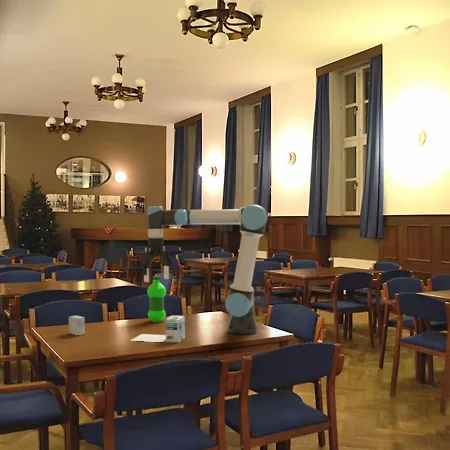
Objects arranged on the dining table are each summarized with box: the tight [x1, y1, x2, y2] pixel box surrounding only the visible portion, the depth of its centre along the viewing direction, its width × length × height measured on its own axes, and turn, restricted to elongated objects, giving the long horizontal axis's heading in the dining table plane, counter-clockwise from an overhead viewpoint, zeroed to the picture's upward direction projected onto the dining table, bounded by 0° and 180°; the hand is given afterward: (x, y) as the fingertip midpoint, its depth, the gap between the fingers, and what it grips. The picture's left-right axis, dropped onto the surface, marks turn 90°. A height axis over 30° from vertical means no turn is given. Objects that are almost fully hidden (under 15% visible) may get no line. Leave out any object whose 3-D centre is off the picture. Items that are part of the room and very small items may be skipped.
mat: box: [129, 333, 166, 343], centre depth 276 cm, size 16×15×1 cm
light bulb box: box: [165, 315, 186, 343], centre depth 273 cm, size 11×7×11 cm, turn 168°
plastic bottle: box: [146, 275, 167, 323], centre depth 319 cm, size 10×10×25 cm
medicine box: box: [68, 315, 86, 336], centre depth 286 cm, size 8×4×9 cm, turn 47°
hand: (156, 280), depth 284 cm, fingers open, 13 cm apart
